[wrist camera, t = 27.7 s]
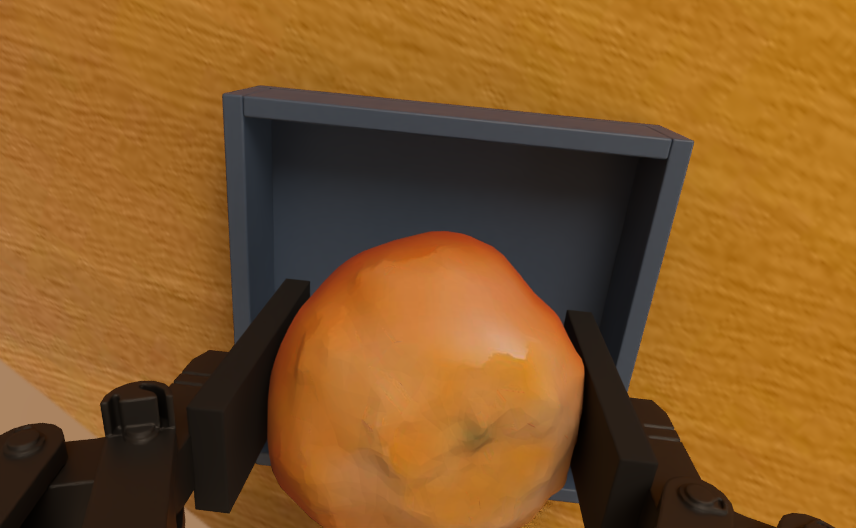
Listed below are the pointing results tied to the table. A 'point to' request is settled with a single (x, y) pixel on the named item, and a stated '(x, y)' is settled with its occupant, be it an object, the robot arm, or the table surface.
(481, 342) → the fruit
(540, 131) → the tray
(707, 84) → the table surface
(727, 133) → the table surface
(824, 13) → the table surface
